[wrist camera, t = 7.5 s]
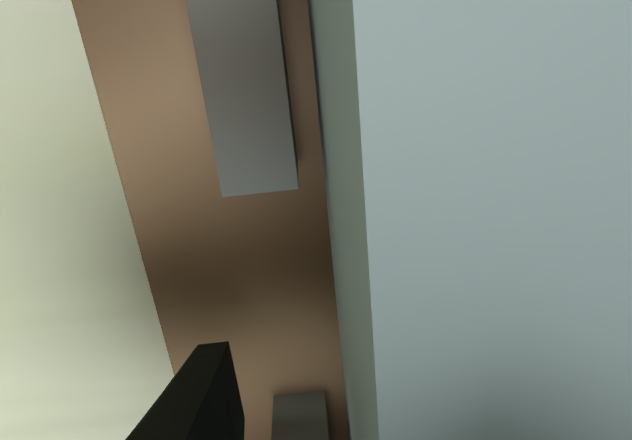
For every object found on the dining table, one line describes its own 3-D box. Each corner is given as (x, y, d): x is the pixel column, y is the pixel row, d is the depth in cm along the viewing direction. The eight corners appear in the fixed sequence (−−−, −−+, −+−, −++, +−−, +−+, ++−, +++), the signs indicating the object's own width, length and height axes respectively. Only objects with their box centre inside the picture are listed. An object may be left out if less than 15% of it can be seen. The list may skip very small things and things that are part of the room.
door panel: (429, 487, 16) (547, 893, 9) (324, 498, 16) (351, 915, 9) (428, -73, 9) (887, -348, 2) (250, -54, 9) (111, -268, 2)
